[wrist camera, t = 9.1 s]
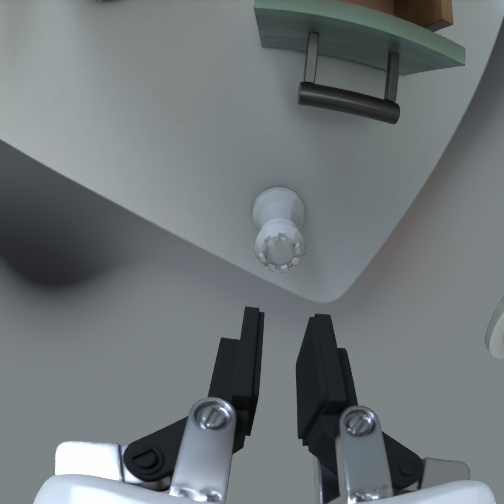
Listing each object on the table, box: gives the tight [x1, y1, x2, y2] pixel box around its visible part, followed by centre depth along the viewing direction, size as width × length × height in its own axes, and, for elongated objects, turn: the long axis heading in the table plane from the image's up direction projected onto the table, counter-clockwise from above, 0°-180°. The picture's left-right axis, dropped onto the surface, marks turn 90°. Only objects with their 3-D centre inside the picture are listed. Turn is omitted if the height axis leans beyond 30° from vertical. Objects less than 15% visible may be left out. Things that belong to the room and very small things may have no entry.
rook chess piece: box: [252, 187, 306, 272], centre depth 21 cm, size 4×4×8 cm
